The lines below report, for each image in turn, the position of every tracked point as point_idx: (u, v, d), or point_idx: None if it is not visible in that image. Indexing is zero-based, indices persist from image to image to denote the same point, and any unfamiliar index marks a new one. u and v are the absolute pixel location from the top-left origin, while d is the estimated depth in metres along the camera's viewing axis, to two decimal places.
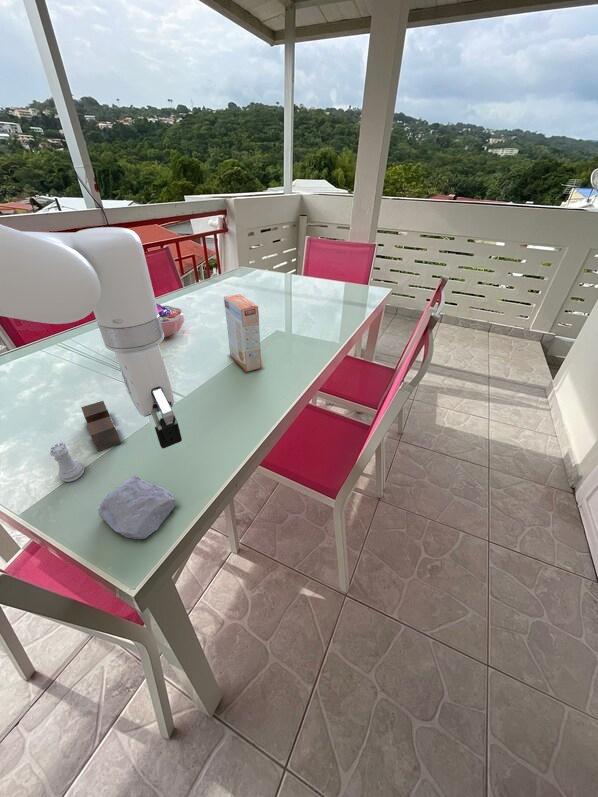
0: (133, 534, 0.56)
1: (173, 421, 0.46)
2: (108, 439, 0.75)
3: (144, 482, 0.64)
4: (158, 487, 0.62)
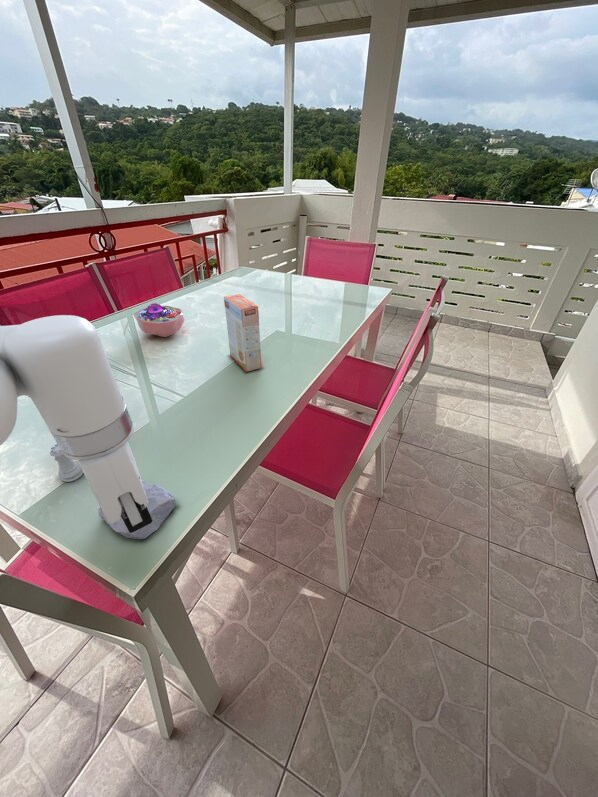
0: (133, 534, 0.56)
1: (138, 511, 0.42)
2: None
3: (144, 482, 0.64)
4: (158, 487, 0.62)
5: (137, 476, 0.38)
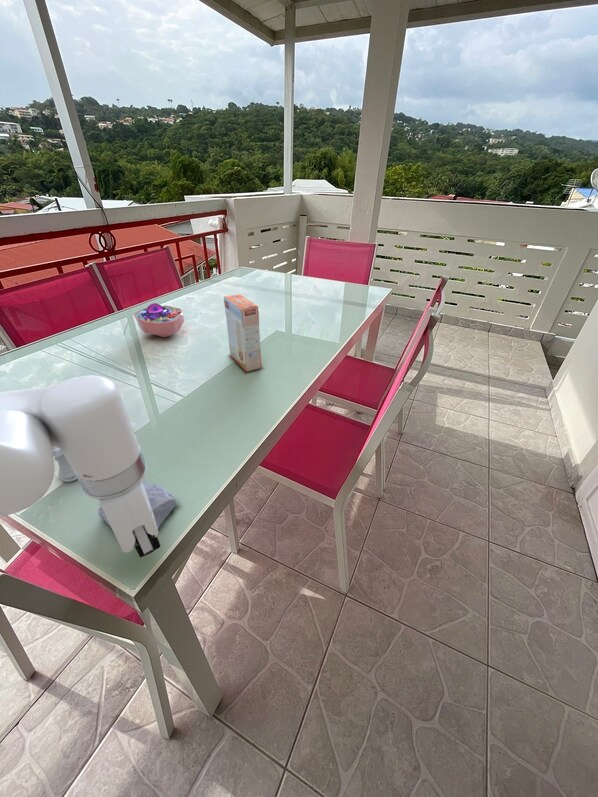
0: None
1: (149, 540, 0.47)
2: None
3: (144, 482, 0.64)
4: (158, 487, 0.62)
5: (149, 511, 0.43)
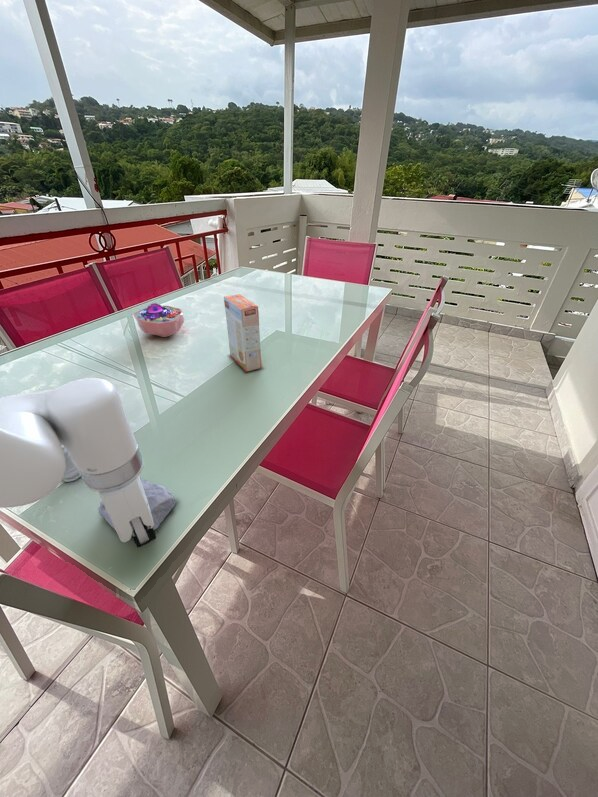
0: None
1: (145, 531, 0.51)
2: None
3: (144, 481, 0.64)
4: (158, 486, 0.62)
5: (145, 503, 0.47)
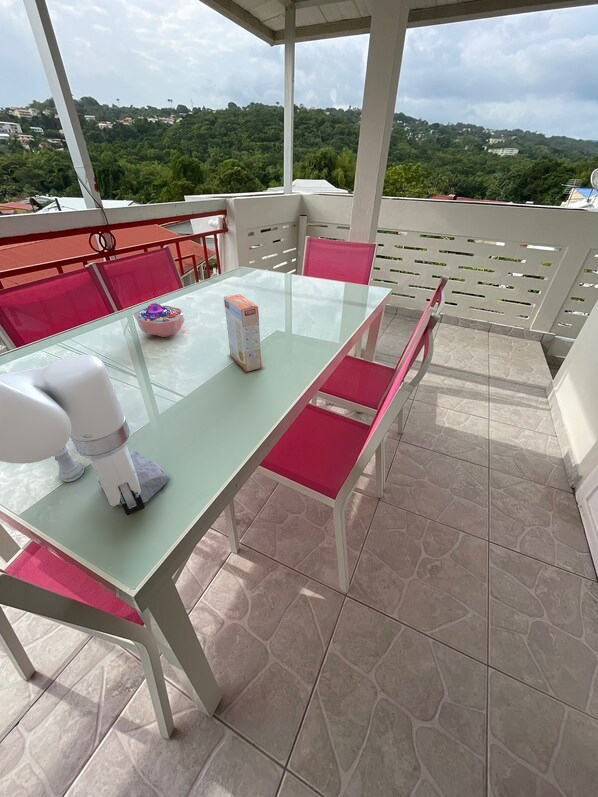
0: None
1: (133, 498, 0.56)
2: None
3: (142, 457, 0.70)
4: (153, 463, 0.67)
5: (132, 471, 0.52)
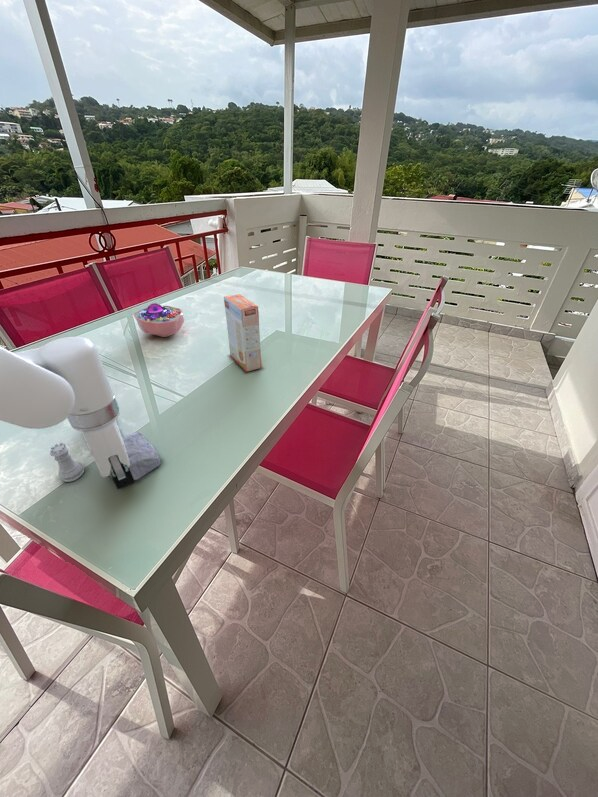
0: None
1: (123, 471, 0.60)
2: None
3: (143, 438, 0.74)
4: (150, 445, 0.72)
5: (122, 444, 0.56)
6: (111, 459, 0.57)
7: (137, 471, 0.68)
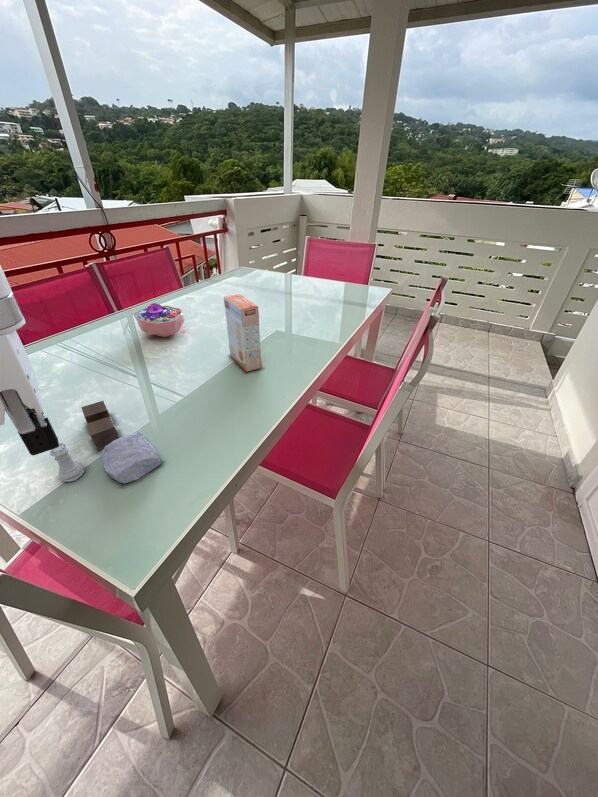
0: (115, 477, 0.66)
1: (34, 423, 0.39)
2: (108, 439, 0.75)
3: (143, 438, 0.74)
4: (150, 445, 0.72)
5: (24, 373, 0.35)
6: (6, 397, 0.35)
7: (137, 471, 0.68)
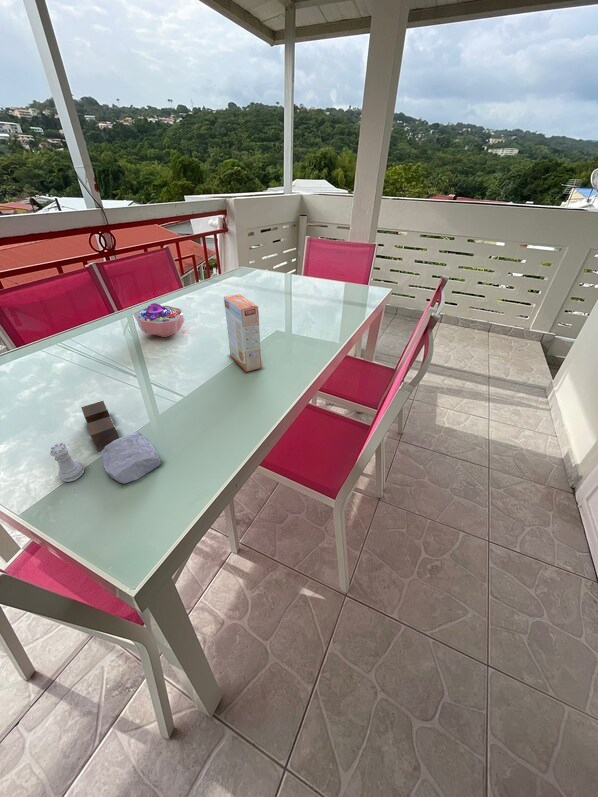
0: (115, 477, 0.66)
1: None
2: (108, 439, 0.75)
3: (143, 438, 0.74)
4: (150, 445, 0.72)
5: None
6: None
7: (137, 471, 0.68)
